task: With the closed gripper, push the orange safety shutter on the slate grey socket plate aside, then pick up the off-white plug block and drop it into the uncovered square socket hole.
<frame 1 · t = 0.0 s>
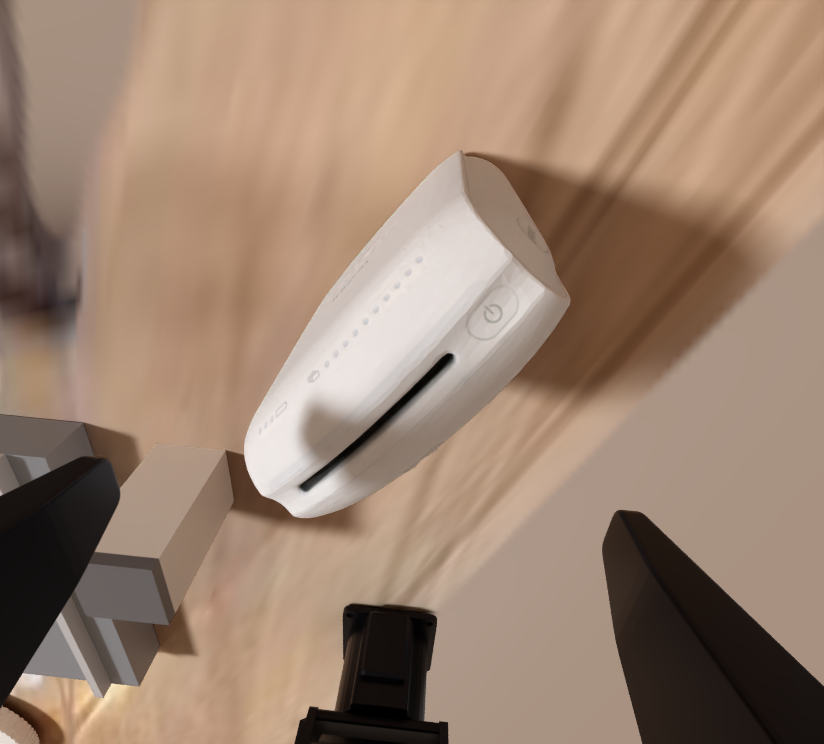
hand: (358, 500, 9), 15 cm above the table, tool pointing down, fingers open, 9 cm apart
socket plate: (13, 541, 34), on the table
photo printer: (415, 258, 22), on the table
plug: (196, 473, 29), on the table
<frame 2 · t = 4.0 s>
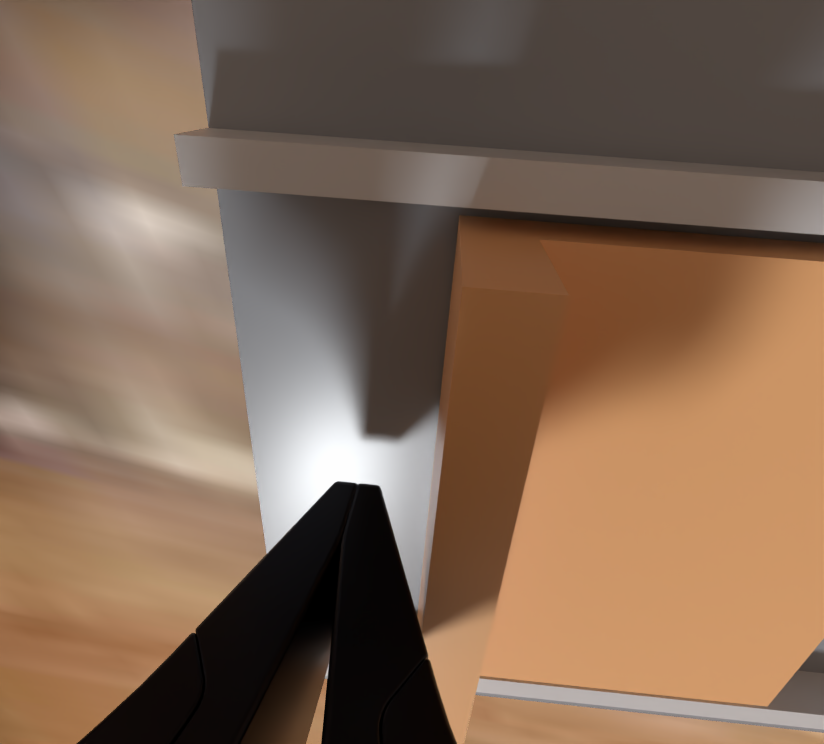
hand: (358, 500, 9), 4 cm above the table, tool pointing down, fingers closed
socket plate: (738, 417, 12), on the table
shutter: (665, 556, 8), point 5 cm above the table, slide at 0.6 cm, touching gripper
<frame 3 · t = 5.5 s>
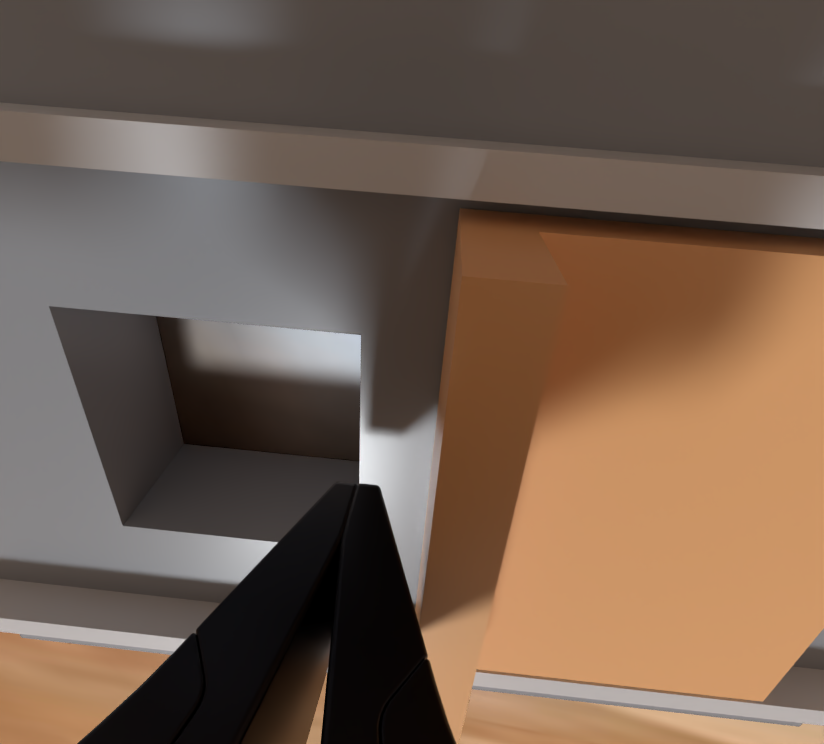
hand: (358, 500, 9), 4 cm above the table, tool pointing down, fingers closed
socket plate: (428, 384, 12), on the table
shutter: (662, 550, 8), point 5 cm above the table, slide at 8.2 cm, touching gripper
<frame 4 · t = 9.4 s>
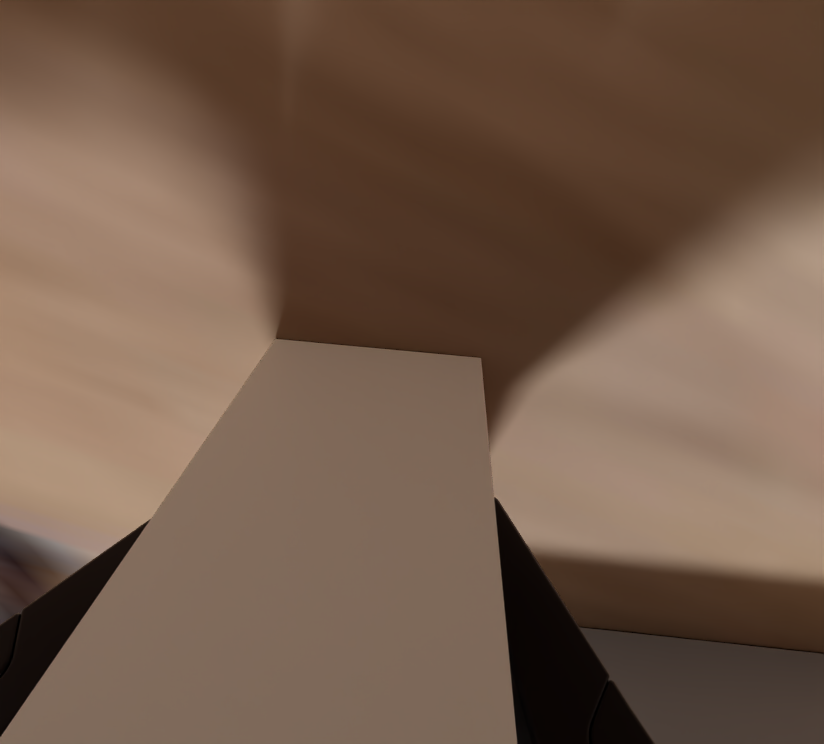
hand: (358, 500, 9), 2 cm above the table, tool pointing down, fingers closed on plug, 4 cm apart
plug: (374, 430, 11), on the table, touching gripper
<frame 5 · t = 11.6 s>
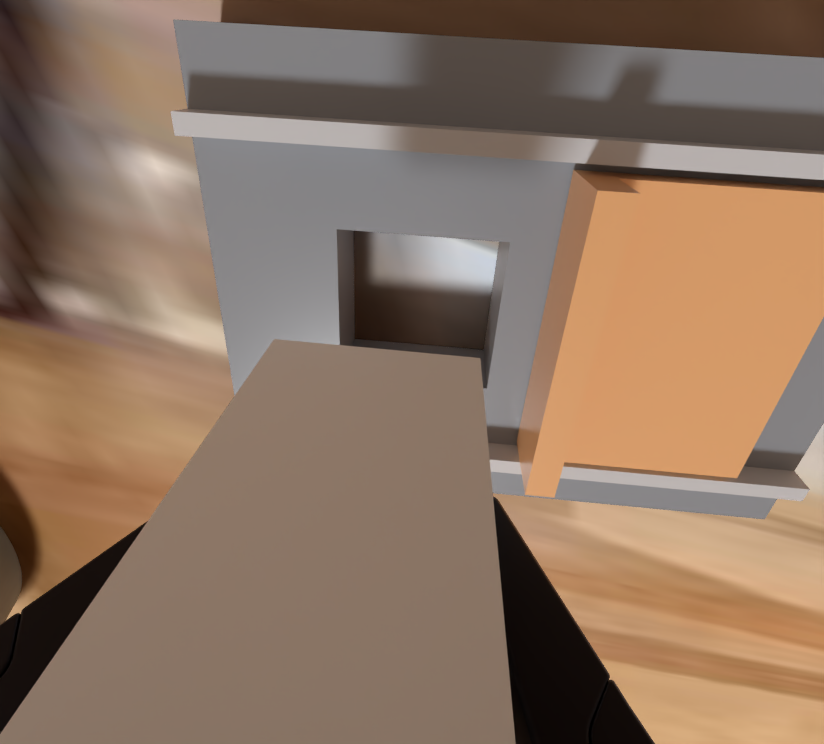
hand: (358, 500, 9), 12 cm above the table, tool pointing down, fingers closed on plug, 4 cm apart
socket plate: (524, 291, 19), on the table
shutter: (676, 357, 15), point 5 cm above the table, slide at 8.2 cm
plug: (373, 431, 11), point 10 cm above the table, touching gripper
when the fingers open (4 cm above the table, at t = 13.9 s): plug drops 2 cm, resting in socket plate.
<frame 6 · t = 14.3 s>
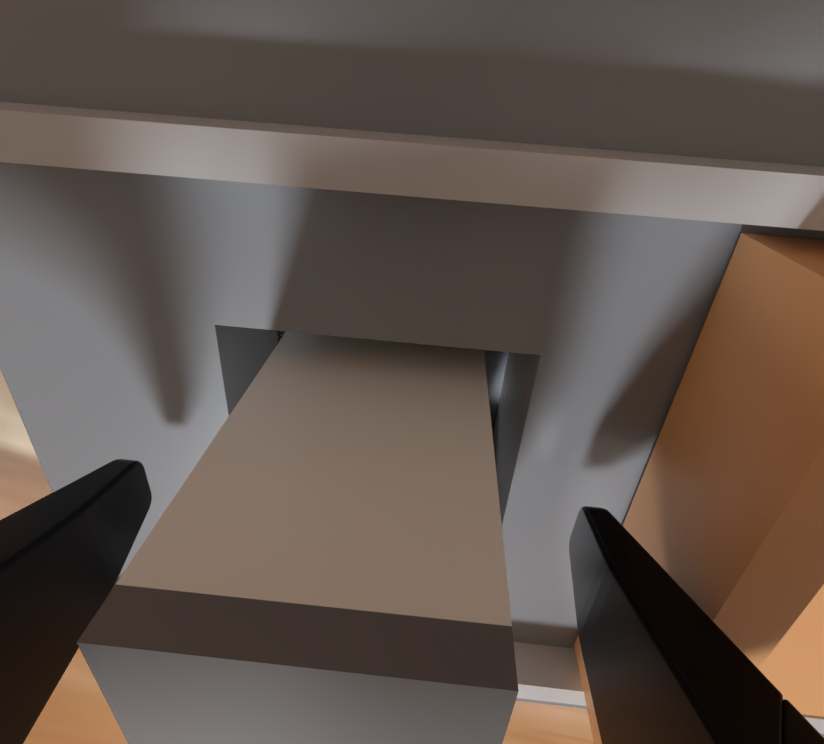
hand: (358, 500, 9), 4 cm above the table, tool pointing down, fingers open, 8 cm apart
socket plate: (551, 399, 12), on the table
plug: (389, 382, 12), resting in socket plate
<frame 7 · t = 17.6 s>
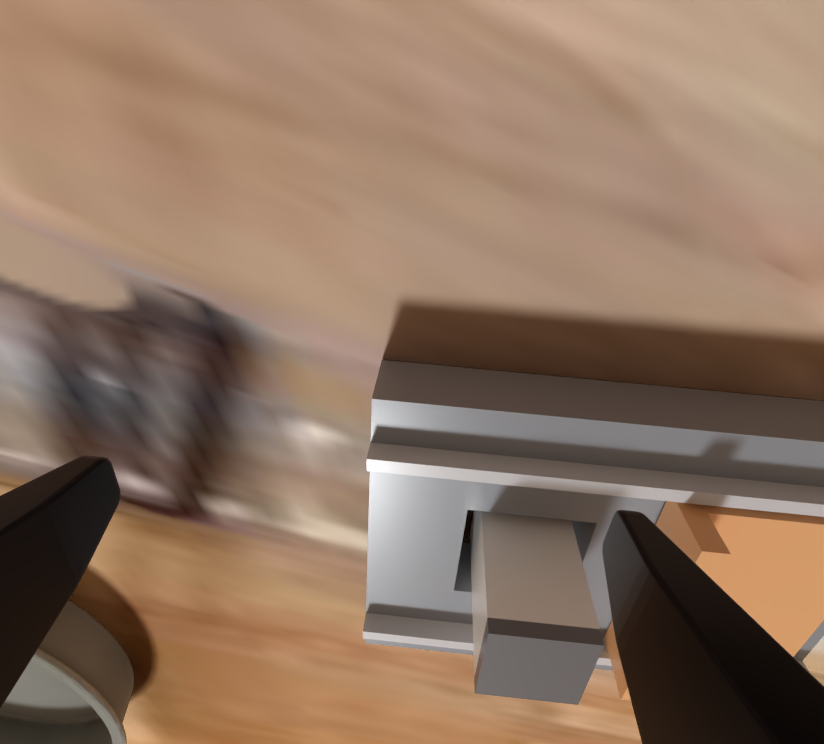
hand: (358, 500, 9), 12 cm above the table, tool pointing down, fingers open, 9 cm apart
socket plate: (593, 517, 25), on the table
shutter: (739, 612, 21), point 5 cm above the table, slide at 9.1 cm
plug: (513, 509, 25), resting in socket plate
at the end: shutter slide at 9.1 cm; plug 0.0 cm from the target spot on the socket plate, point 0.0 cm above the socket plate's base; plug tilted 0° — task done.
